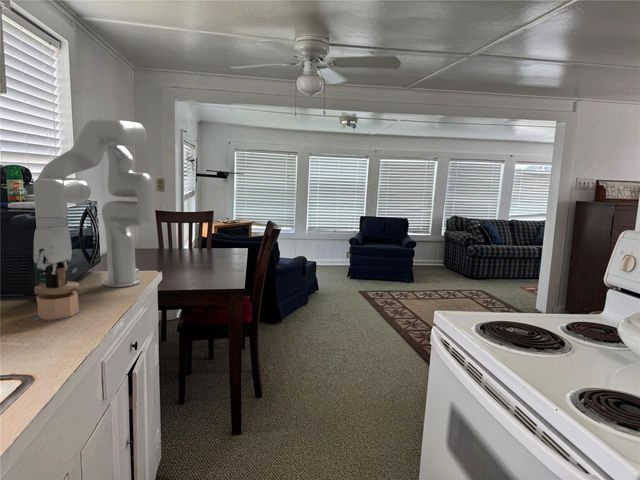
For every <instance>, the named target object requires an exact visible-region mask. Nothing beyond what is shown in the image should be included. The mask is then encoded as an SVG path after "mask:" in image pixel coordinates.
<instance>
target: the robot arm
mask: <svg viewBox="0 0 640 480" xmlns="http://www.w3.org/2000/svg"><path fill="white" fill-rule="evenodd" d="M147 137H148V135H147V130H146V128H145V127H144V125H143V124H142V123H139V122H136V121H135V122H134V121H128V120H121V119H103V118H102V119H101V118H100V119H99V118H98V119H94V118H93V119H90V120H88V121H87V122H86V123H85V124H84V126H83V127H82V129H81V131H80V133H79V135H78V137H77V139H76V140H75V141H74V144H73V145H72V147H71V149H69V150H67V151H66V152H63V153H61V154H60V155H58V156H56V158H53V159H52V160H50V161H49V162H48V163H47V164H46V165H45V166H44V167H43V168H42V170H41V171H40V173H39V175H38V177H37V179H35V180H34V181H33V184H32V185H33V187H32V188H33V198H34V200H33V201H34V213H35V224H36V225H35V226H36V228H35V231H34V235H33V249H34V260H33V263H34V262H35V263H36V264H37V268H38V269H41V270H42V271H43V273H44V274H45V279H46V287H47V288H58V274H56V268H65V273H66V284H67V281H68V275H67V274H68V273H67V271H68V268H69V267H68V265H69V263H70V261H71V260H72V254H73V251H72V250H73V249H72V248H73V247H72V240H71V239H72V238H71V234H70V230H69V218H68V217H69V216H68V215H69V213H68V204H82V203H85V202H87V201H88V199H90V197H91V194H92V190H91V186H90V184H89V183H88V182H87V181H85V180H84V179H80V178H74V177H73V178H72V177H69V176H72V175H74V174H77V173H79V172H83V171H87V170H89V169H92V168H94V167H97V166H98V165H99V164H100V163H101V160H102V157H104V154H105V152H106V154H107V155H106V156H107V158H108V174H107V175H108V176H107V189H108V193H109V194H110V195H111V196H113V197H117V198H130V199H131V198H132V199H133V198H134V199H136V201H133V200H132V201H130V200H111V201H110V200H109V201H108V202H105V204H104V205H103V206H102V208H101V217H102V220H103V224H104V225H103V226H104V230H105V231H104V232H105V242H106V261H107V263H106V264H107V279H106V280H104V281H103V285H104V286H105V287H110V288H123V287H124V288H126V287H131V286H136V285H138V284H140V283H141V278H140V277H137V275H136V274H138V273H139V272H140V270H139V268H136V247H135V236H134V234H133V232H132V231H131V229H130V227H131V228H135V227H136V228H139V227H140V228H145V227H148V226H150V225H151V223H152V222H153V219H154V202H155V201H154V198H155V184H154V179H153V178H152V176H151V175H150V174H148V173H146V172H139V171H138V172H137V171H136V172H134V171H135V170H134V169H135V168H134V167H135V159H134V157H133V155H132V154H131V152H130V151H129V150H128V149H127V147H132V148H133V147H137V148H138V147H139V148H140V147H143V146H144V145H145V144H146V141H147ZM49 266H51V268H50V267H49Z"/></svg>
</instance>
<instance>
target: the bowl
mask: <svg viewBox="0 0 640 480" xmlns="http://www.w3.org/2000/svg"><path fill="white" fill-rule="evenodd" d="M36 302H37V316H39V318H40V319H42V320H59V319H65V318H69V317H72V316H74V315H76V314H77V313H78V312H79V294H78V291H73V292H70V293H65V294H58V295H38V296H37V301H36ZM77 315H78V314H77ZM77 315H76V316H77ZM74 317H75V316H74ZM72 318H73V317H72Z"/></svg>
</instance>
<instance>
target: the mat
mask: <svg viewBox="0 0 640 480" xmlns="http://www.w3.org/2000/svg"><path fill="white" fill-rule="evenodd" d="M84 311H86V309H79V312H78V313H77V314H76V315H74V316H72V317H69V318H65V319H59V320H42V319H40V318H39V315H37V316H35V317H33V318H31V319H29V321H43V322H44V321H49V322H66V321H68V320H69V319H71V318H73V317H75V316H77V315H79V314H81V313H83V312H84Z"/></svg>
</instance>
